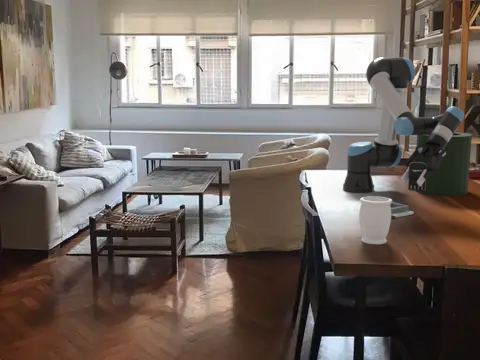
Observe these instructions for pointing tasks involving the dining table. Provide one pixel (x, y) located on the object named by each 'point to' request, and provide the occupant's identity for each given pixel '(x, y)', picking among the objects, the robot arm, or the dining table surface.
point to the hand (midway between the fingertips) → (410, 182)
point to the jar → (375, 219)
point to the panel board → (399, 210)
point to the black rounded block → (416, 176)
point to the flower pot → (450, 167)
